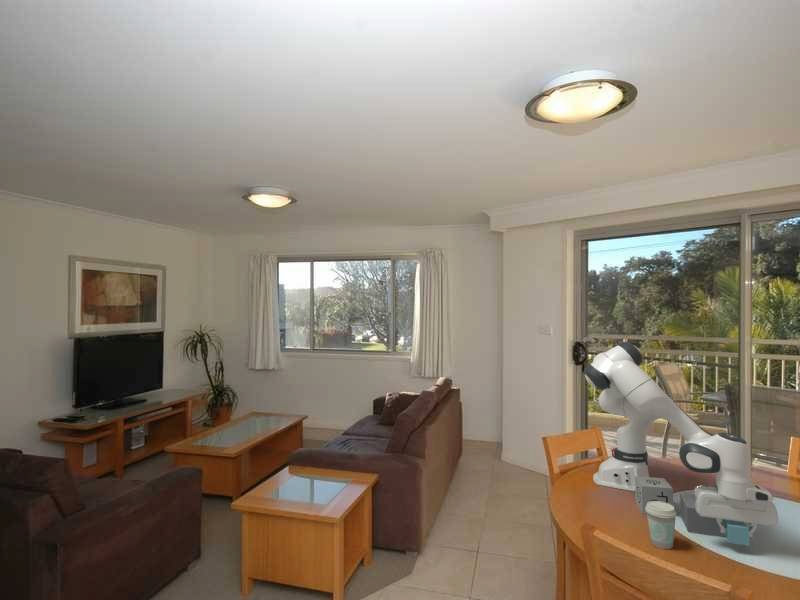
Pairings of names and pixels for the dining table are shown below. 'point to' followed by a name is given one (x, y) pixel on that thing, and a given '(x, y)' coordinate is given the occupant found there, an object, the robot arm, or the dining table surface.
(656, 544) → the coffee cup
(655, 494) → the icon cube
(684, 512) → the grey block
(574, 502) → the dining table surface
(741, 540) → the teal block
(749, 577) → the dining table surface
